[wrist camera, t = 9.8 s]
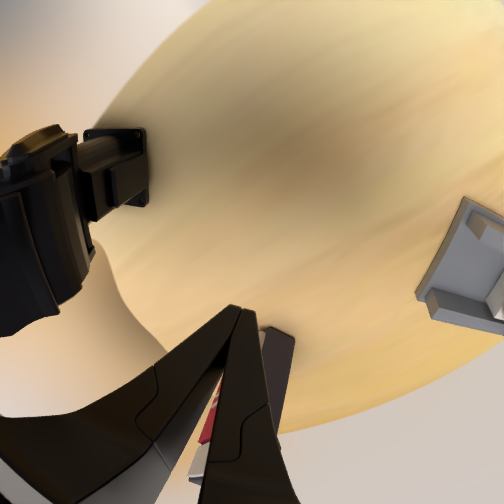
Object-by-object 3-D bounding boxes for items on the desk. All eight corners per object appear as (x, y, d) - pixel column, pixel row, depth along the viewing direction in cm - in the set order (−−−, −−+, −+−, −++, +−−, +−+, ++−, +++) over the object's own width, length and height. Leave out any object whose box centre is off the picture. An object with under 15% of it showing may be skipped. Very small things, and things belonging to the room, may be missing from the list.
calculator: (262, 321, 26) (214, 475, 14) (301, 340, 26) (272, 490, 14) (222, 369, 32) (180, 478, 20) (253, 383, 32) (219, 492, 20)
